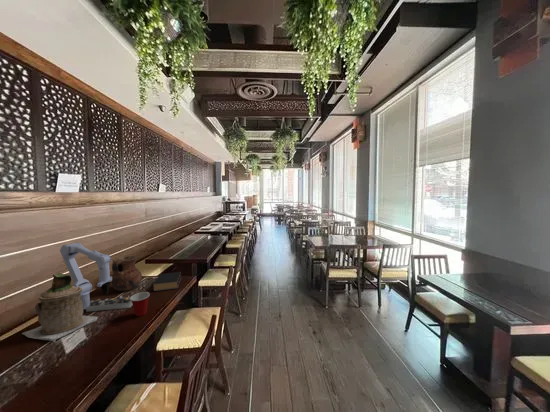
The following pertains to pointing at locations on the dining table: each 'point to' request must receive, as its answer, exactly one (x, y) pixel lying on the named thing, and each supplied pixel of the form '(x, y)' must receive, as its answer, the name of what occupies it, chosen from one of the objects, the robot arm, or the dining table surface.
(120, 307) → the power strip
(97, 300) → the rocker
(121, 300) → the rocker
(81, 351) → the dining table surface
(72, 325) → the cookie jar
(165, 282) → the book
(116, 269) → the jug
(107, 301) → the rocker
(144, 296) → the plastic cup
